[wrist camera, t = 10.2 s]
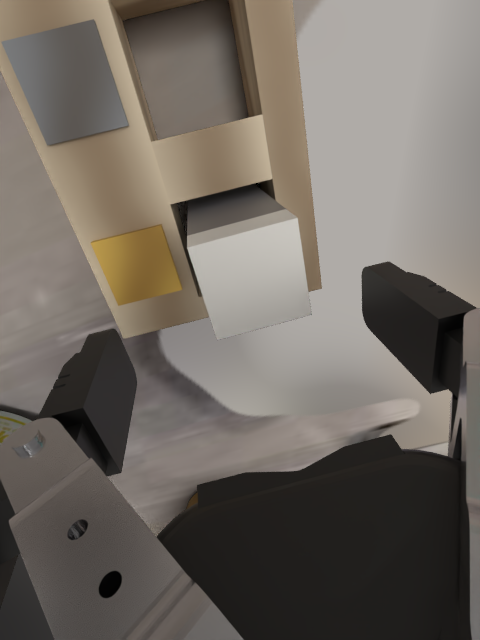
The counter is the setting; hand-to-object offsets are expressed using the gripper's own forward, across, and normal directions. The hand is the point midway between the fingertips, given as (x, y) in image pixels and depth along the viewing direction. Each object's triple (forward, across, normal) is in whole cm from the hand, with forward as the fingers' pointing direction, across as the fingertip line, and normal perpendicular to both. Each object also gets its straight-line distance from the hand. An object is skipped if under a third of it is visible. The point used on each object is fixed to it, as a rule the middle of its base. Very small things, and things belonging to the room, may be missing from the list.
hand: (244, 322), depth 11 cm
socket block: (+12, +1, -4) cm, 13 cm away
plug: (+12, -1, 0) cm, 12 cm away
